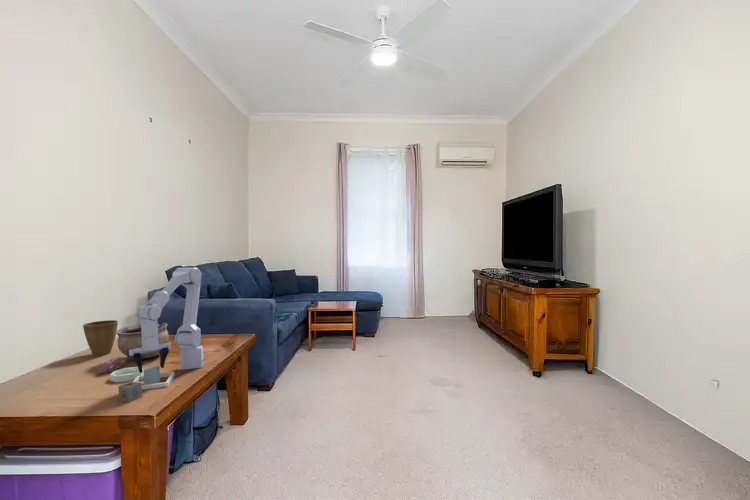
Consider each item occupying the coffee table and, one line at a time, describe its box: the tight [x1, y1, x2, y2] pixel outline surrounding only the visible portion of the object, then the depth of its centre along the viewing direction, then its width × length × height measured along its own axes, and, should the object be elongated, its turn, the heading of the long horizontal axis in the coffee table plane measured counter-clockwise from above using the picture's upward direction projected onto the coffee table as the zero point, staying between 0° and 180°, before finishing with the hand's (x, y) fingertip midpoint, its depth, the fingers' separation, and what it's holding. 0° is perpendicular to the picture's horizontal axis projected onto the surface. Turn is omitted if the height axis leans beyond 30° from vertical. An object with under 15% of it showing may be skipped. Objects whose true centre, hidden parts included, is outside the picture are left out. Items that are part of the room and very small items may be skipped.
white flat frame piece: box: [132, 371, 176, 391], centre depth 160 cm, size 14×14×2 cm
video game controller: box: [97, 356, 126, 375], centre depth 178 cm, size 10×5×7 cm, turn 169°
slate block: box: [143, 365, 161, 385], centre depth 160 cm, size 4×4×6 cm
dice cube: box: [118, 381, 143, 403], centre depth 144 cm, size 5×5×5 cm
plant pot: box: [82, 319, 119, 357], centre depth 207 cm, size 15×15×16 cm
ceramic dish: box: [109, 366, 145, 383], centre depth 168 cm, size 11×11×2 cm
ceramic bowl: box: [116, 322, 170, 360], centre depth 197 cm, size 22×22×15 cm
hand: (151, 369), depth 159 cm, fingers open, 7 cm apart
